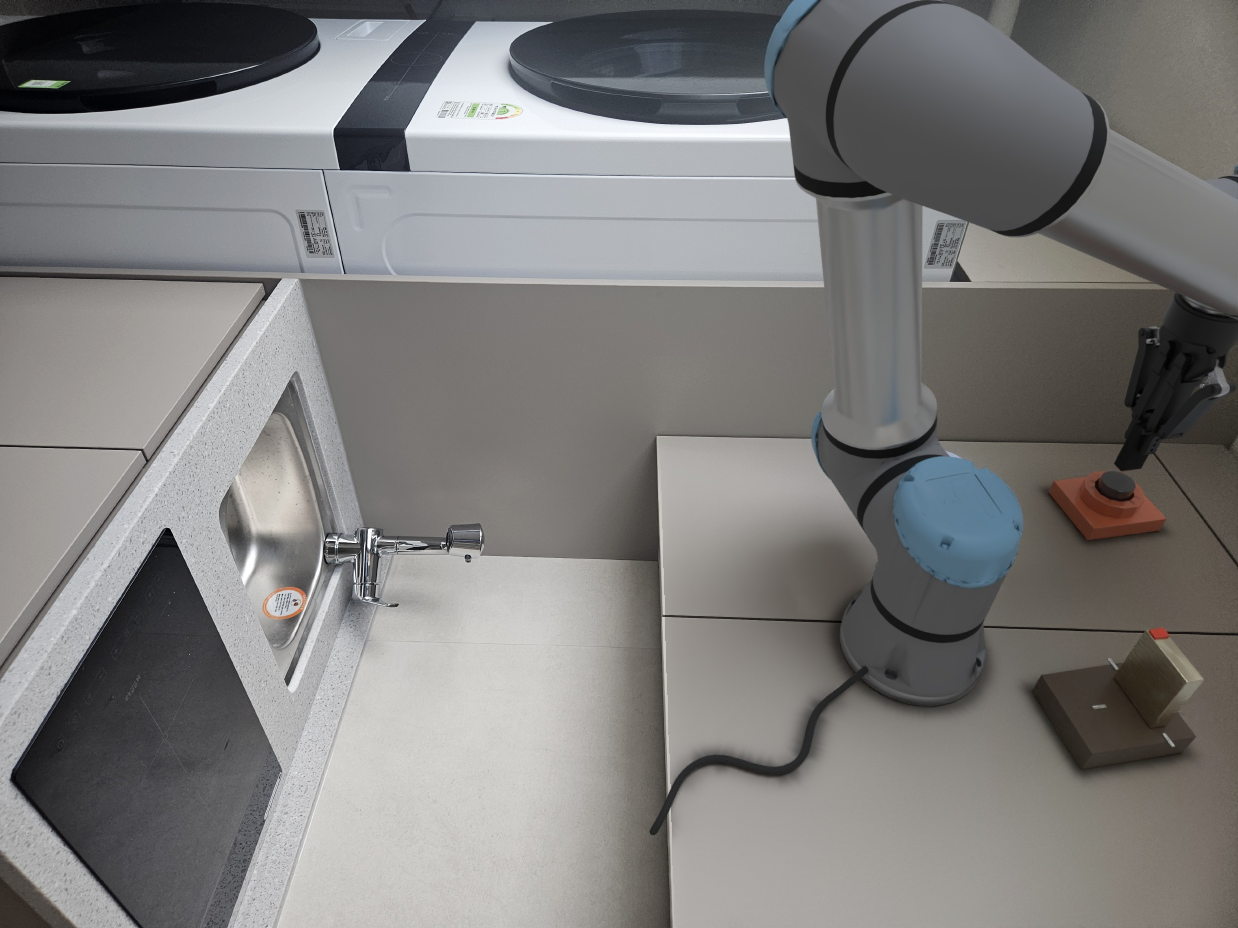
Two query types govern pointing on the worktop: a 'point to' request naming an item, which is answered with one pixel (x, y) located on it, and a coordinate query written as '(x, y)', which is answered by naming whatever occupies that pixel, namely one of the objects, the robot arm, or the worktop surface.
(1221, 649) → the worktop surface
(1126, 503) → the button box
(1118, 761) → the panel
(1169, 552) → the worktop surface
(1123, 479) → the button
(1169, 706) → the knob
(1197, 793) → the worktop surface
